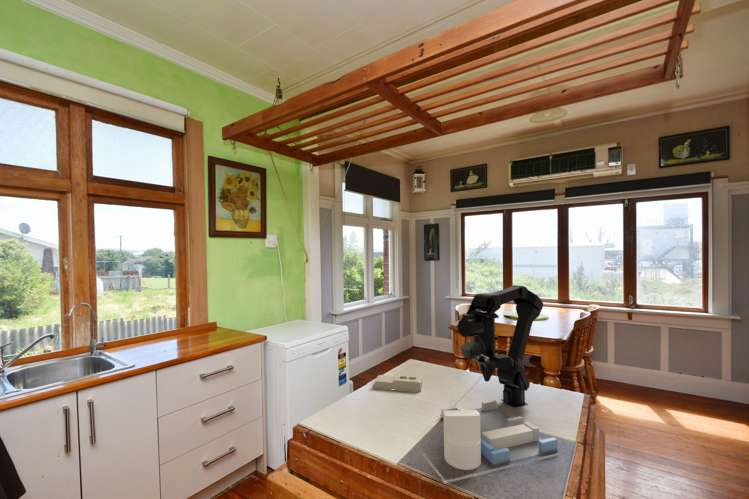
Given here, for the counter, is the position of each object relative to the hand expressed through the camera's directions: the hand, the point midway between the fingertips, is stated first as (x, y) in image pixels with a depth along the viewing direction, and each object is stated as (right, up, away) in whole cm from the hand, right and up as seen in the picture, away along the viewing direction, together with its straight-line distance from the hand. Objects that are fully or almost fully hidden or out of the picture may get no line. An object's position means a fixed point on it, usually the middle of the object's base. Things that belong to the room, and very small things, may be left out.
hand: (486, 381), depth 107 cm
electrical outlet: (-27, -13, +24) cm, 38 cm away
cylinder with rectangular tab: (-14, -11, -24) cm, 30 cm away
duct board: (-2, -11, -11) cm, 15 cm away
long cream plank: (0, -10, -17) cm, 20 cm away
